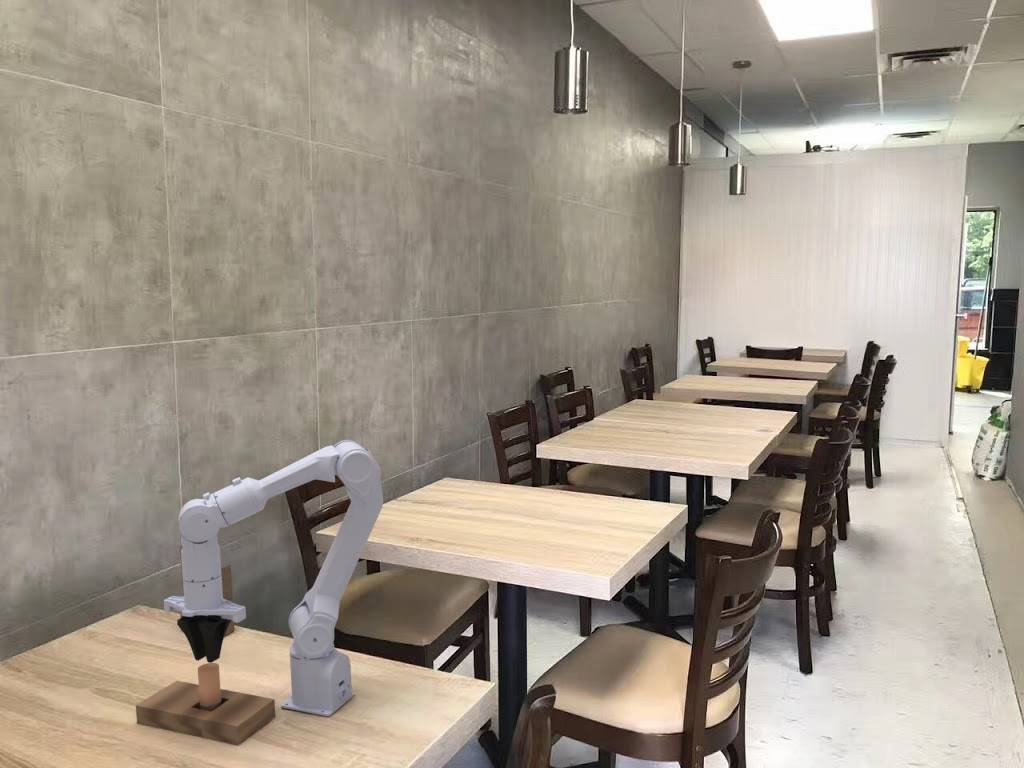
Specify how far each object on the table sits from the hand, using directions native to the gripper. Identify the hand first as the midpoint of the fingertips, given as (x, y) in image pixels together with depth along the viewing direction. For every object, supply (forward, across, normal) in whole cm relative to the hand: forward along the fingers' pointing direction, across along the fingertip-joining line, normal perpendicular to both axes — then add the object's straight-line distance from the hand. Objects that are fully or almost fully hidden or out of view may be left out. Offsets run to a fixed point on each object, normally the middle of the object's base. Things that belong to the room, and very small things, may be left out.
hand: (207, 658), depth 133 cm
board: (+10, -1, 0) cm, 10 cm away
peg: (+10, 0, 0) cm, 10 cm away
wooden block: (+11, -26, +29) cm, 40 cm away
